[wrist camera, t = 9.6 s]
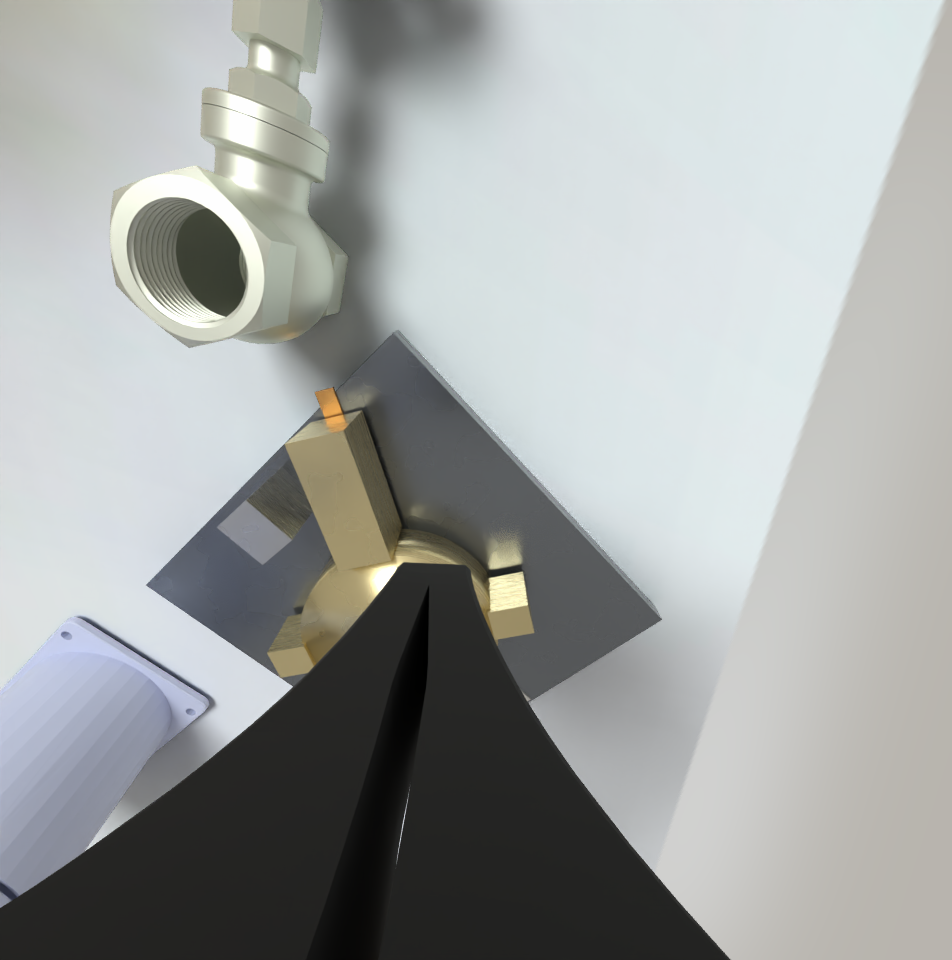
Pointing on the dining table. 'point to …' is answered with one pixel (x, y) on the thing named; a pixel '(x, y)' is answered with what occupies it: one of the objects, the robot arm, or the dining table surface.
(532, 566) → the flange plate
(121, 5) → the dining table surface
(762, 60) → the dining table surface
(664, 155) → the dining table surface
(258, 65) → the valve
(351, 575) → the gold cross-shaped piece
